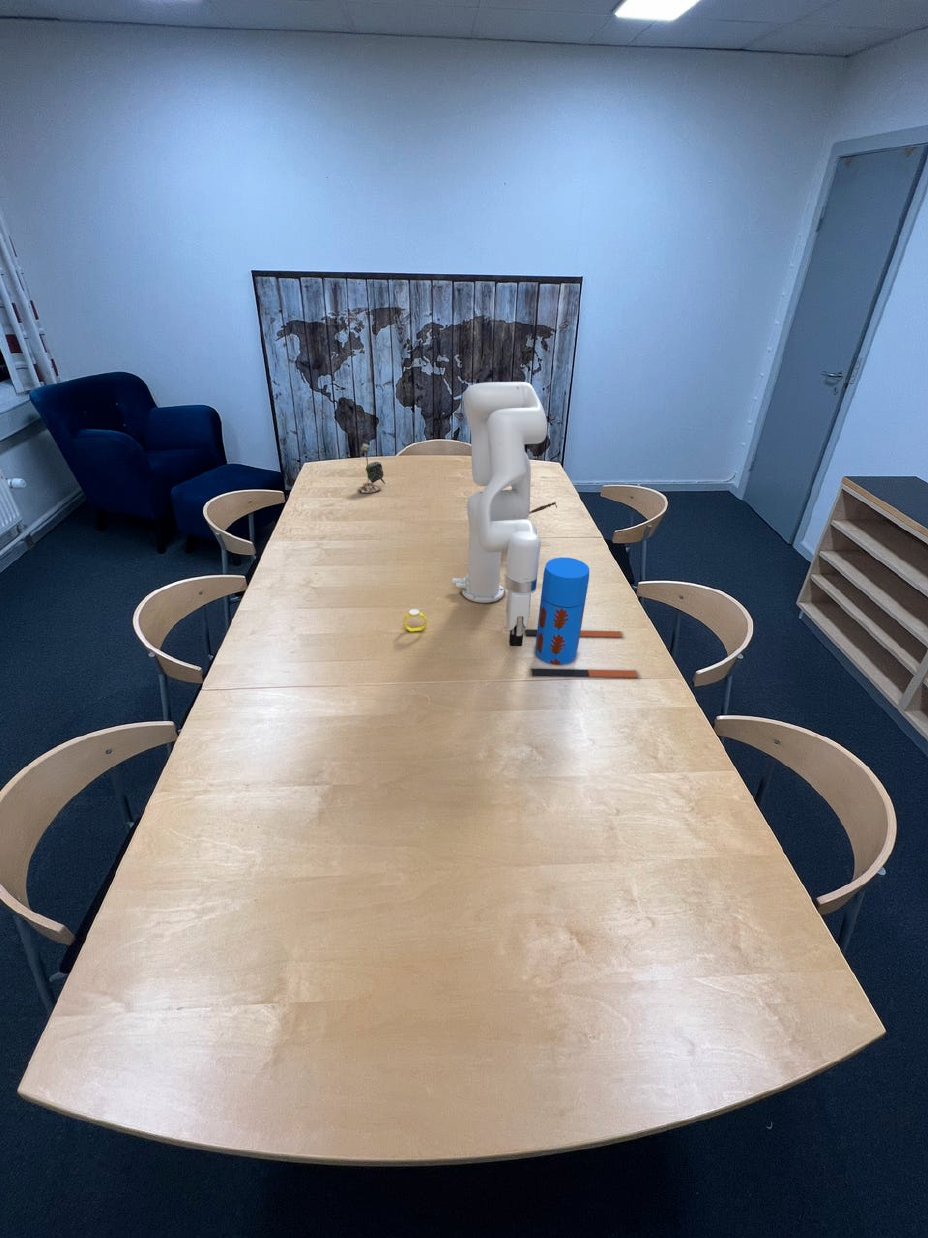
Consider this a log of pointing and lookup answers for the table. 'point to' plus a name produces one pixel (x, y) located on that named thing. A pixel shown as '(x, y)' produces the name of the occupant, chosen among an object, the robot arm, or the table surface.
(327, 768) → the table surface
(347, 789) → the table surface
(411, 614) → the gold ring
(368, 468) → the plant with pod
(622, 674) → the lane
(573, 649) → the thermos
